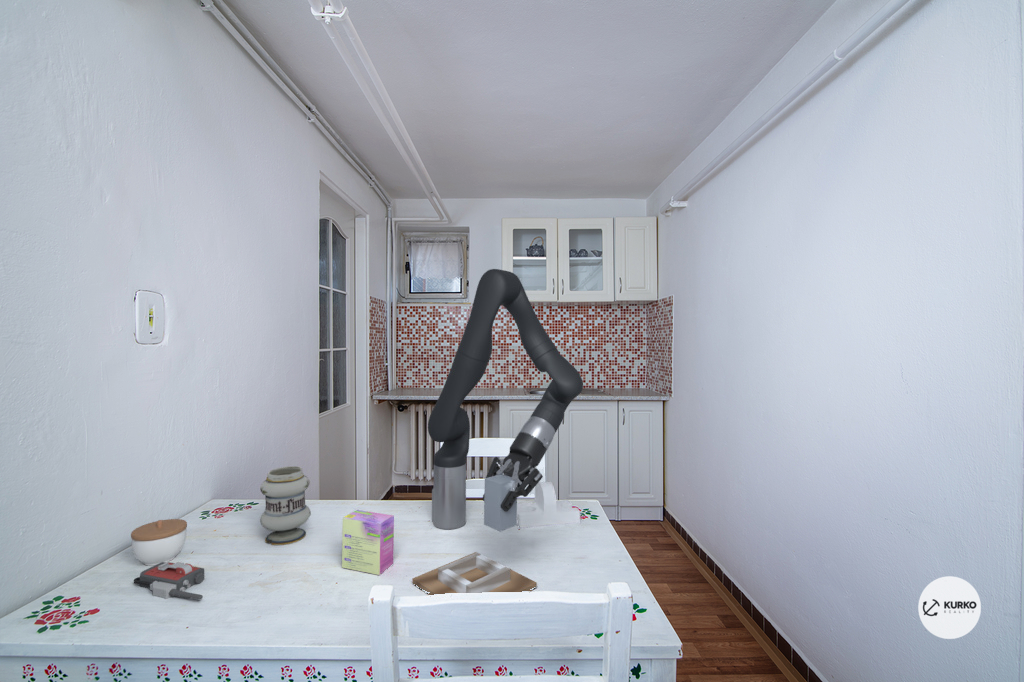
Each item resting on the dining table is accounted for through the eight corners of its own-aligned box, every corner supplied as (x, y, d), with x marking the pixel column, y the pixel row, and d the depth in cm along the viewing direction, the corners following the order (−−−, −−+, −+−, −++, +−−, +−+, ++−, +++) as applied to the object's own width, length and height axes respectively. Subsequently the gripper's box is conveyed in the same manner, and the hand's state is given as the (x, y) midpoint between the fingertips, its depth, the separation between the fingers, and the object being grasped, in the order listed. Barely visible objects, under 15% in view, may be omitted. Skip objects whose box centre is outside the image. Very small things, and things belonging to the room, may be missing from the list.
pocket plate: (412, 584, 101) (412, 566, 101) (475, 556, 114) (475, 541, 114) (471, 624, 87) (471, 604, 87) (536, 588, 99) (536, 570, 99)
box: (394, 564, 110) (394, 514, 110) (379, 576, 104) (379, 523, 104) (357, 557, 113) (357, 509, 113) (341, 568, 108) (341, 517, 108)
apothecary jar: (249, 542, 121) (249, 473, 121) (287, 525, 132) (287, 462, 132) (283, 550, 117) (284, 478, 117) (320, 532, 128) (320, 466, 128)
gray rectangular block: (483, 524, 101) (484, 478, 101) (500, 518, 104) (501, 473, 104) (499, 531, 97) (500, 484, 97) (516, 525, 101) (517, 479, 101)
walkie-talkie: (122, 592, 98) (196, 607, 93) (122, 571, 98) (196, 585, 93) (163, 572, 107) (233, 585, 101) (163, 553, 107) (233, 564, 101)
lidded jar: (182, 545, 119) (182, 509, 119) (191, 559, 112) (191, 520, 112) (128, 559, 112) (128, 520, 112) (133, 575, 104) (133, 533, 104)
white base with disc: (568, 511, 144) (568, 476, 144) (579, 523, 135) (580, 485, 135) (511, 516, 140) (511, 479, 140) (519, 529, 131) (519, 490, 131)
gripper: (503, 426, 111) (463, 487, 103) (549, 436, 101) (509, 505, 93) (518, 445, 115) (480, 505, 106) (564, 456, 105) (527, 524, 96)
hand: (494, 505), depth 100 cm, fingers closed on gray rectangular block, 5 cm apart
